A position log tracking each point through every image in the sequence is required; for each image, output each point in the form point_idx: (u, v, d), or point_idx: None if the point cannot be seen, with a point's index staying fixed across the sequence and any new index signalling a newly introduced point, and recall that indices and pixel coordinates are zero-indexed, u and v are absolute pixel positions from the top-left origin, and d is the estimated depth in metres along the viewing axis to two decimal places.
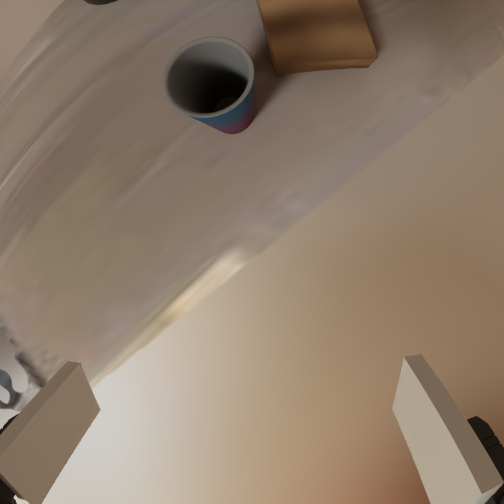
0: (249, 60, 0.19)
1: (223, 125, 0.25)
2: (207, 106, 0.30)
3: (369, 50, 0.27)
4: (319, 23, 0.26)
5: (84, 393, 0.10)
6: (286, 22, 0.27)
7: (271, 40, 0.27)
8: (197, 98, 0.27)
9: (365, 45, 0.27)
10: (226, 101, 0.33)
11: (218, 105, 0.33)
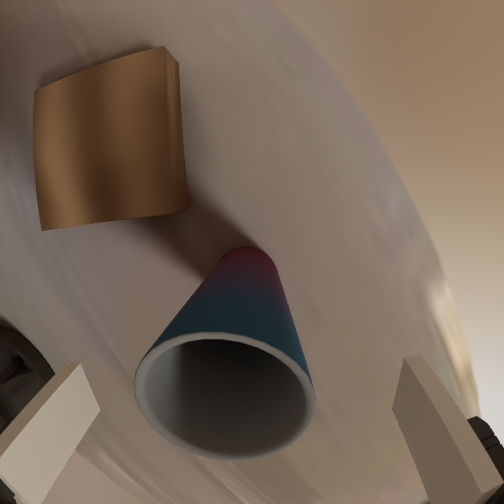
0: (195, 337, 0.09)
1: None
2: None
3: (151, 58, 0.17)
4: (102, 136, 0.18)
5: (84, 393, 0.10)
6: (99, 189, 0.19)
7: (130, 216, 0.19)
8: (231, 352, 0.18)
9: (142, 63, 0.17)
10: None
11: None
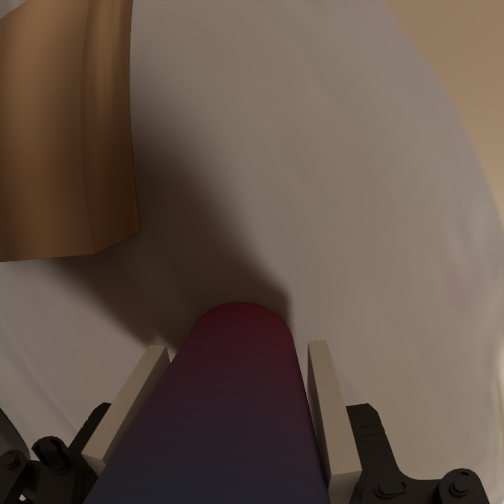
0: None
1: None
2: None
3: None
4: None
5: None
6: None
7: (31, 255, 0.09)
8: None
9: None
10: None
11: None
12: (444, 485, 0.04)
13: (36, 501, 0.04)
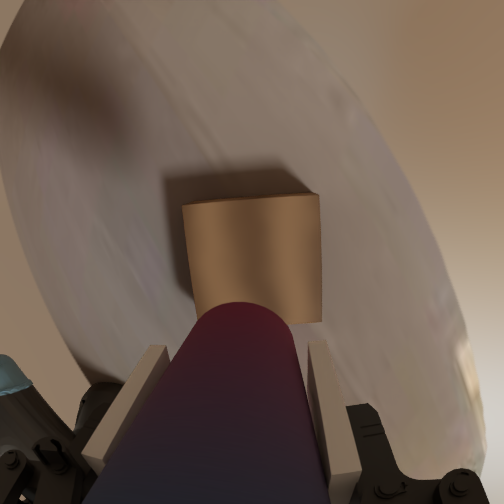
0: None
1: None
2: None
3: (309, 204, 0.26)
4: (266, 264, 0.27)
5: None
6: (262, 303, 0.28)
7: (288, 322, 0.28)
8: None
9: (301, 208, 0.26)
10: None
11: None
12: (444, 485, 0.04)
13: (36, 501, 0.04)
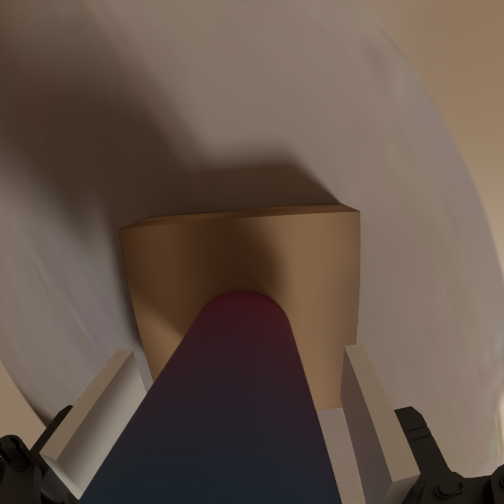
0: None
1: None
2: None
3: (342, 229, 0.14)
4: None
5: (135, 381, 0.12)
6: None
7: None
8: None
9: (328, 236, 0.14)
10: None
11: None
12: (495, 478, 0.04)
13: (2, 497, 0.03)
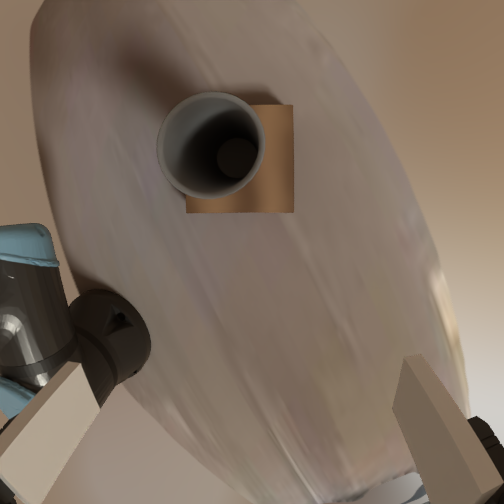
0: (201, 95, 0.17)
1: None
2: (226, 179, 0.29)
3: (284, 111, 0.30)
4: None
5: (84, 393, 0.10)
6: (242, 190, 0.33)
7: (264, 210, 0.33)
8: (219, 182, 0.26)
9: (278, 114, 0.30)
10: (222, 161, 0.32)
11: (224, 170, 0.32)
12: None
13: None
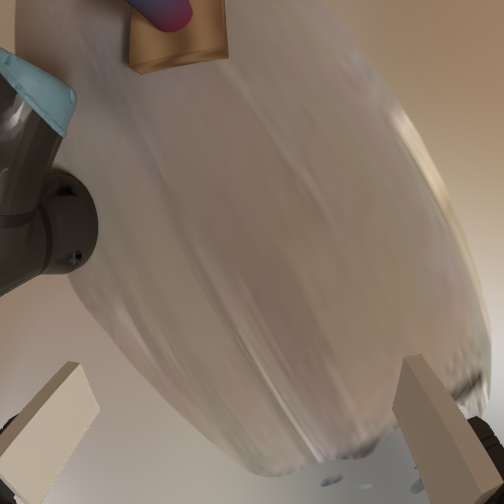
0: None
1: None
2: None
3: None
4: None
5: (84, 393, 0.10)
6: (177, 38, 0.29)
7: (196, 49, 0.29)
8: (147, 8, 0.21)
9: None
10: None
11: None
12: None
13: None
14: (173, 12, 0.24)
